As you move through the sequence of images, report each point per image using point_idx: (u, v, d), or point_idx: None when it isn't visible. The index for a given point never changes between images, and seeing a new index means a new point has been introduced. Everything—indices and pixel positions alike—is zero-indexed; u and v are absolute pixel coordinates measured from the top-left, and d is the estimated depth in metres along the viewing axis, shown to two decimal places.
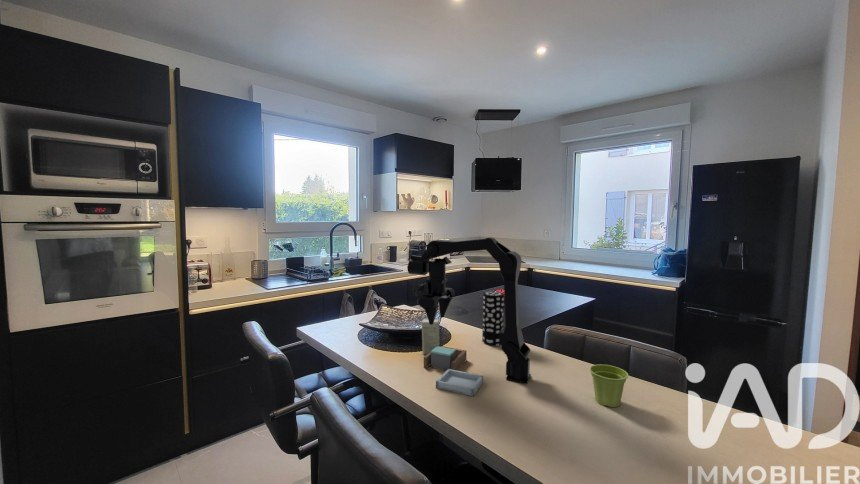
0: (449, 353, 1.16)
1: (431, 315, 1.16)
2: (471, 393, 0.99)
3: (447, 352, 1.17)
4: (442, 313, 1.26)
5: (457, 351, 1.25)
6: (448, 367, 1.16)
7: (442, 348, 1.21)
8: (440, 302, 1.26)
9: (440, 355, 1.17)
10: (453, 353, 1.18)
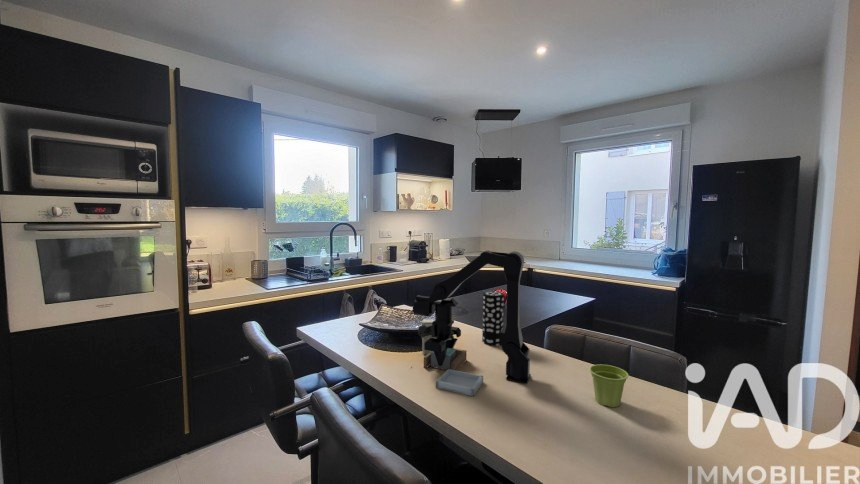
0: (449, 353, 1.16)
1: (440, 357, 1.16)
2: (471, 393, 0.99)
3: (447, 352, 1.17)
4: None
5: (457, 351, 1.25)
6: (448, 367, 1.16)
7: None
8: None
9: None
10: (453, 353, 1.18)
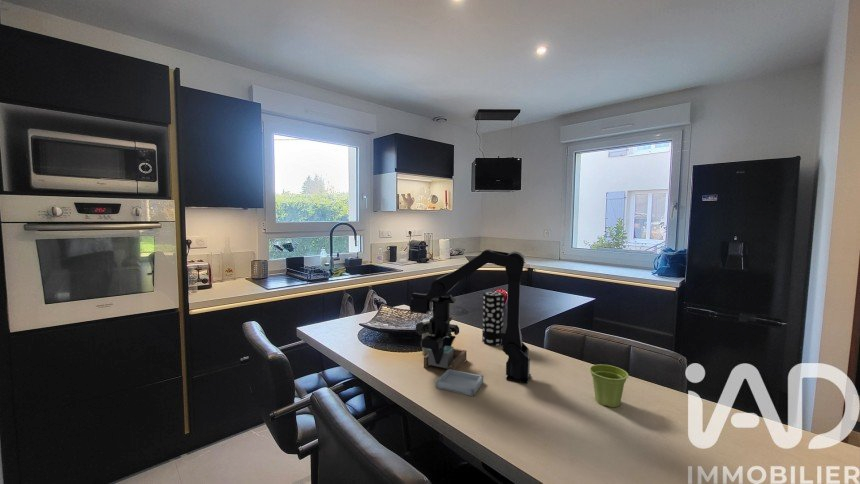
0: (447, 350, 1.15)
1: (437, 355, 1.14)
2: (471, 393, 0.99)
3: (445, 349, 1.15)
4: None
5: (457, 351, 1.25)
6: (446, 365, 1.14)
7: None
8: None
9: None
10: (451, 350, 1.16)
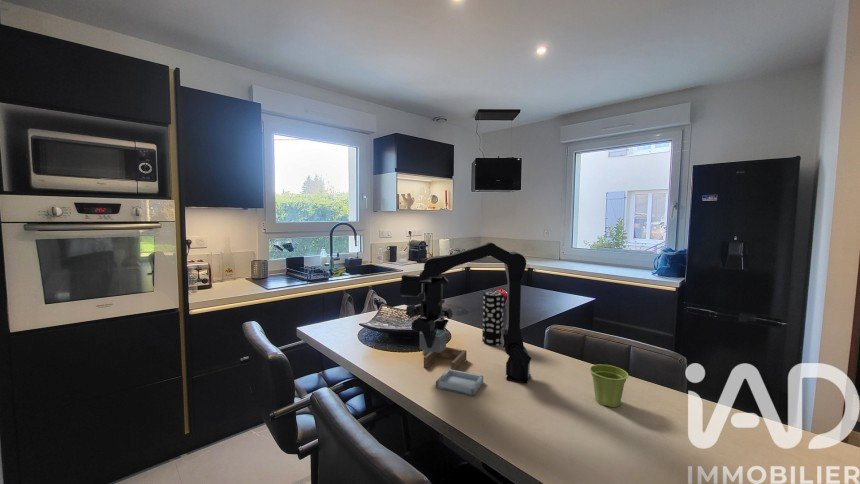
0: (439, 334, 1.09)
1: (429, 338, 1.08)
2: (471, 393, 0.99)
3: (437, 333, 1.09)
4: None
5: (457, 351, 1.25)
6: (438, 349, 1.08)
7: None
8: (434, 325, 1.14)
9: None
10: (443, 334, 1.10)
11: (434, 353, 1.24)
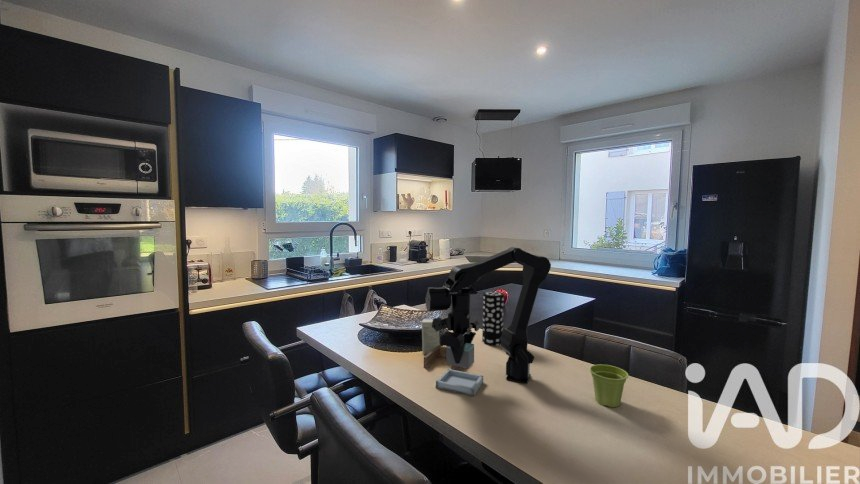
0: (467, 348, 1.02)
1: (457, 353, 1.01)
2: (471, 393, 0.99)
3: (465, 347, 1.03)
4: None
5: None
6: (466, 364, 1.02)
7: None
8: None
9: None
10: (472, 348, 1.04)
11: (434, 353, 1.24)
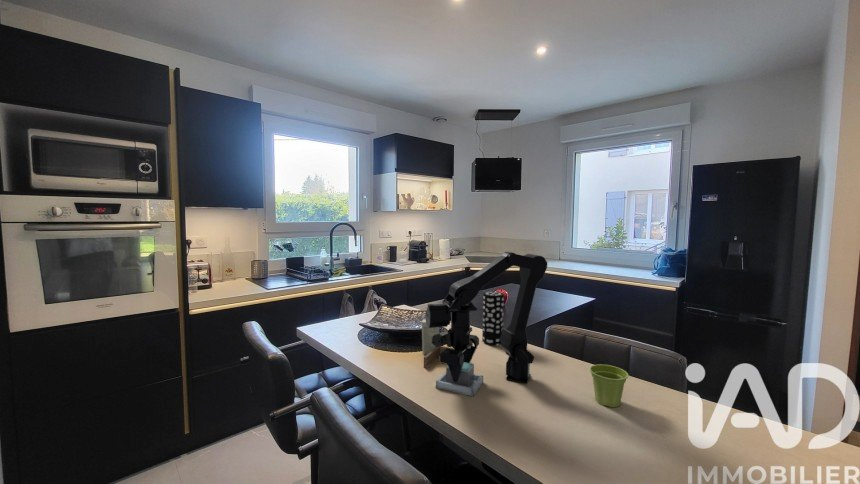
0: (467, 369, 1.03)
1: (455, 372, 1.00)
2: (471, 393, 0.99)
3: (465, 367, 1.03)
4: None
5: None
6: (466, 385, 1.02)
7: None
8: (462, 353, 1.10)
9: None
10: (471, 368, 1.04)
11: (434, 353, 1.24)
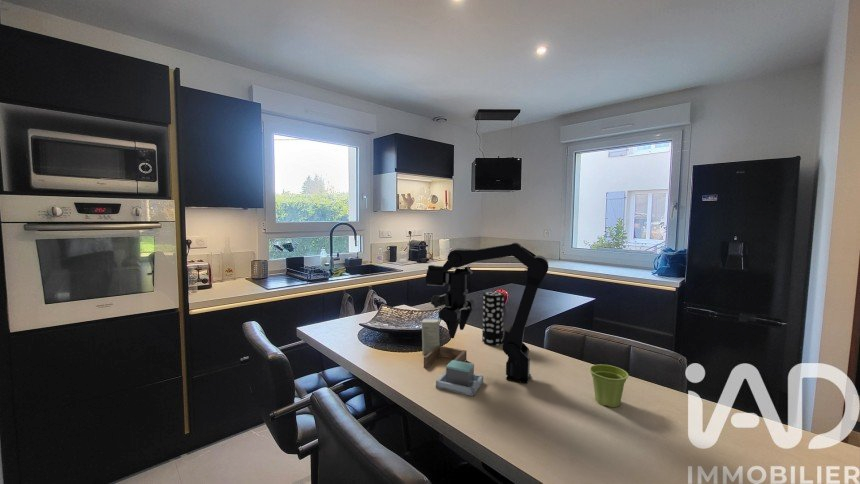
0: (467, 369, 1.03)
1: (452, 328, 1.10)
2: (471, 393, 0.99)
3: (465, 367, 1.03)
4: (462, 326, 1.20)
5: (457, 351, 1.25)
6: (466, 385, 1.02)
7: (458, 362, 1.07)
8: None
9: (456, 371, 1.03)
10: (471, 368, 1.04)
11: (434, 353, 1.24)
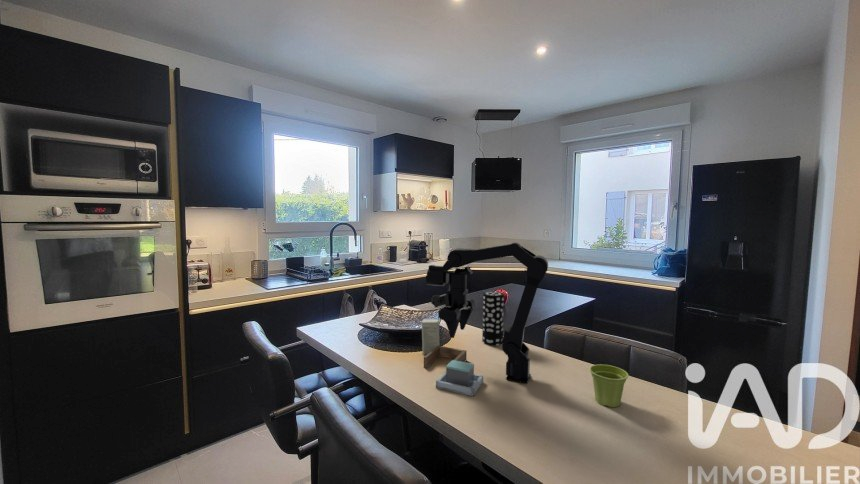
0: (467, 369, 1.03)
1: (452, 328, 1.11)
2: (471, 393, 0.99)
3: (465, 367, 1.03)
4: (462, 325, 1.21)
5: (457, 351, 1.25)
6: (466, 385, 1.02)
7: (458, 362, 1.07)
8: None
9: (456, 371, 1.03)
10: (471, 368, 1.04)
11: (434, 353, 1.24)
